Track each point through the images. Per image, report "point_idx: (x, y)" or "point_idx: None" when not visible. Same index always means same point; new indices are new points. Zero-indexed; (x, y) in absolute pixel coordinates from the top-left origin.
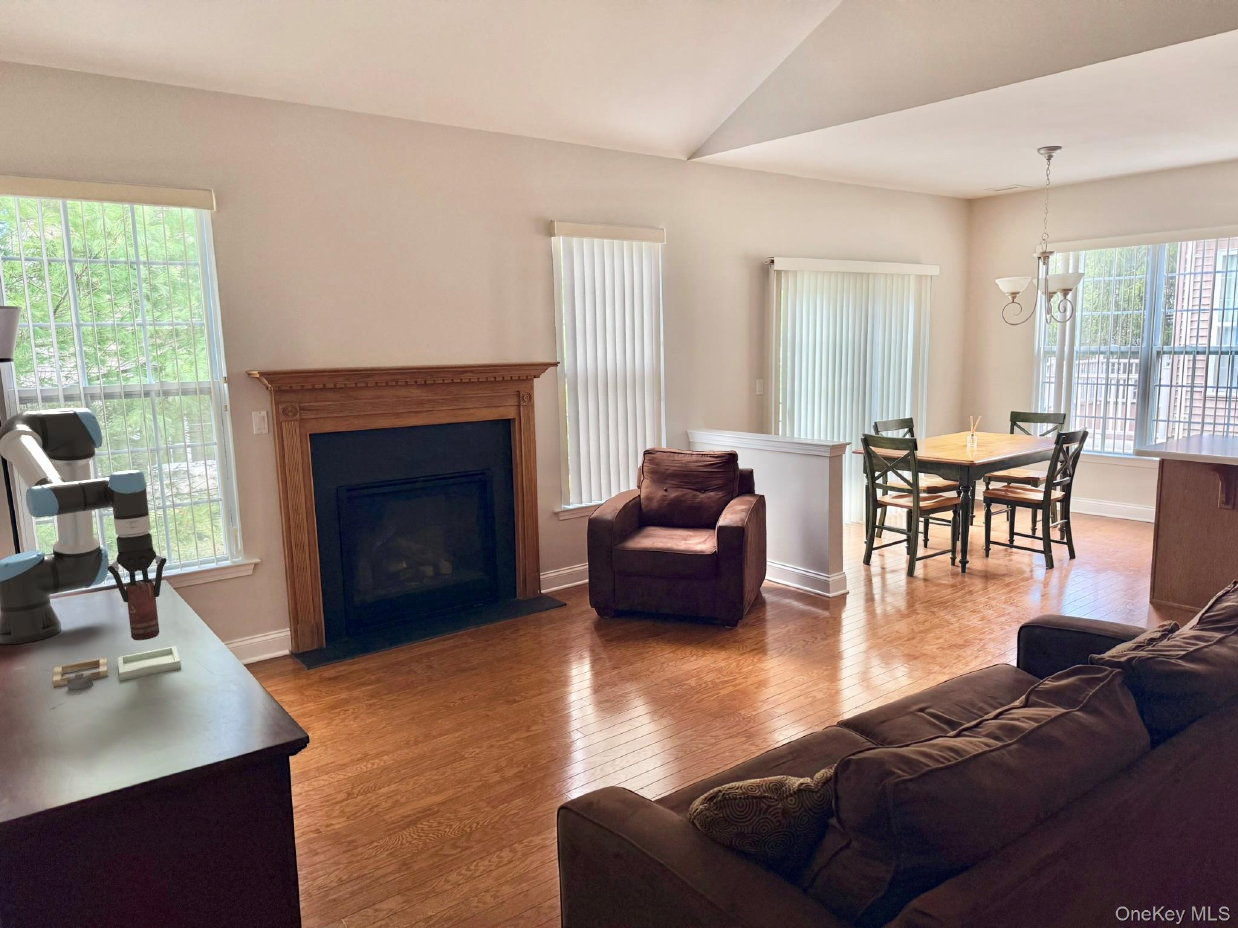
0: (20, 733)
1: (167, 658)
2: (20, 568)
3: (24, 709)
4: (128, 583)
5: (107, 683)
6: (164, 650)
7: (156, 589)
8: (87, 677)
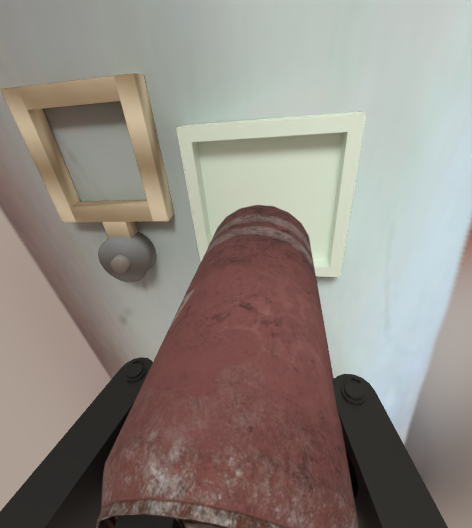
0: (114, 370)
1: (319, 182)
2: None
3: (76, 300)
4: (101, 521)
5: (183, 261)
6: (321, 132)
7: (353, 486)
8: (141, 273)
